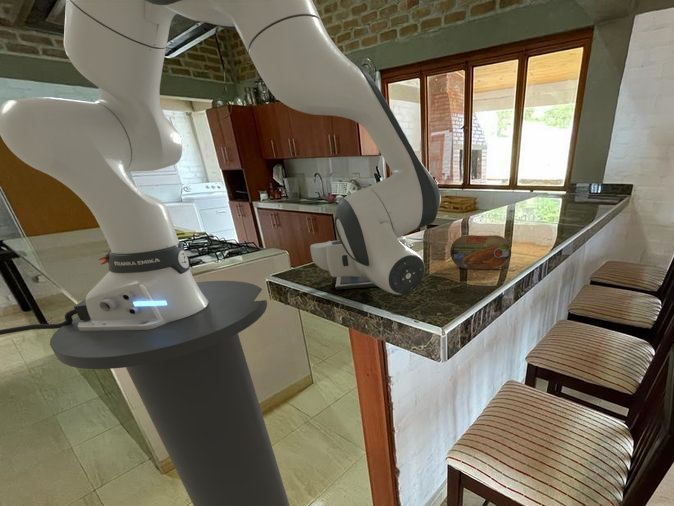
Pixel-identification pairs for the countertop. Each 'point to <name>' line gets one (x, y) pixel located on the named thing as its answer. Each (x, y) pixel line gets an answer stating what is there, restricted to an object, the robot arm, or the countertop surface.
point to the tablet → (353, 282)
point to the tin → (480, 251)
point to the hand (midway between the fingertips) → (348, 241)
